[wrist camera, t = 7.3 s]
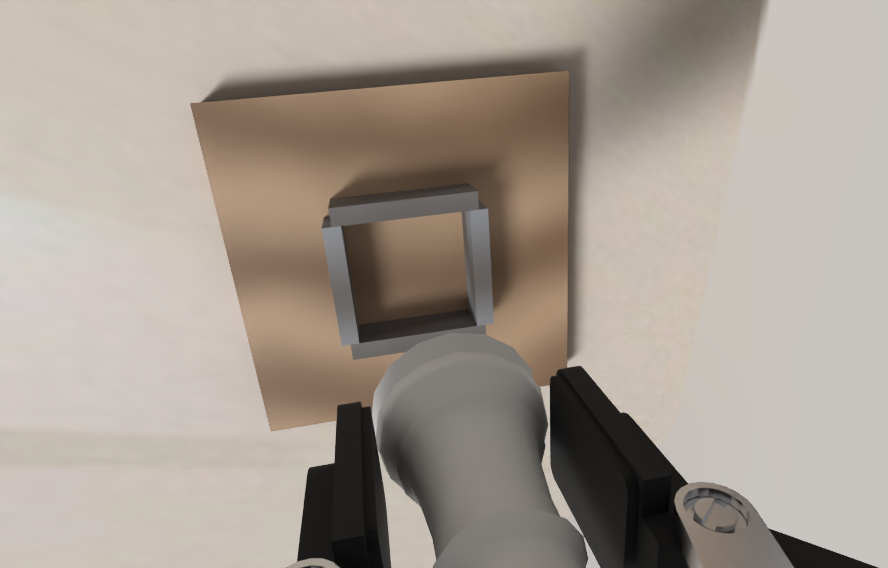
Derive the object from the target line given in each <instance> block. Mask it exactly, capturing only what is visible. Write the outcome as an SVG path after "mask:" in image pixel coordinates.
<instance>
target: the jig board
mask: <svg viewBox="0 0 888 568" xmlns="http://www.w3.org/2000/svg"><path fill="white" fill-rule="evenodd" d="M190 105H191V109H192V113H193V117H194V121H195V125H196V129H197V133H198V137H199V141H200V145H201V149H202V153H203V157H204V161H205V166H206V170H207V174H208V178H209V182H210V186H211V190H212V194H213V198H214V202H215V206H216V210H217V214H218V218H219V222H220V226H221V231H222V235H223V239H224V243H225V247H226V251H227V255H228V259H229V263H230V267H231V271H232V275H233V279H234V283H235V287H236V292H237V296H238V300H239V304H240V308H241V312H242V316H243V320H244V324H245V328H246V332H247V336H248V340H249V344H250V348H251V352H252V357H253V361H254V365H255V369H256V373H257V377H258V381H259V385H260V389H261V393H262V397H263V401H264V405H265V409H266V413H267V417H268V422H269V426H270V430H271V431H277V430H283V429H289V428H295V427H301V426H307V425H312V424H318V423H324V422H330V421H336V420H337V406H338V405H342V404H348V403H354V402H360V401H361V404H362V407H368V406H370V407H371V412H372V408H373V398H374V392H375V390H376V388H377V387H378V385H379V383H380V381H381V380H382V378H383V376H384V374H385V373H386V371H387V369H388V368H389V366H390V364H392V363H393V362H394V361H396V360H397V359H398V358H399V357H401V356H402V355H403V354H405V353H406V352H407V351H408V350H410V349H411V348H412V347H413V346H415V345H416V344H417V343H420V342H423V341H427V340H430V339H433V338H436V337H439V336H442V335H445V334H448V333H469V334H486V335H488V336H490V337H492V338H494V339H496V340H498V341H501V342H503V343H505V344H507V345H509V346H511V347H513V348H514V349H515V350H516V351H517V353H518V354H519V355H520V356H521V357H522V359H523V360H524V361H525V362H526V363H527V365H528V366H529V367H530V368H531V369H532V373H533V378H534V381H535V383H536V384H537V385H538V386H539V387H540V386H546V385H550V378H551V377H552V376H556V373H557V370H558V369H563V368H567V313H568V161H569V71H557V72H546V73H534V74H523V75H511V76H500V77H488V78H477V79H465V80H454V81H442V82H431V83H419V84H408V85H396V86H385V87H373V88H362V89H350V90H339V91H327V92H316V93H304V94H293V95H281V96H270V97H258V98H247V99H235V100H224V101H212V102H201V103H190Z"/></svg>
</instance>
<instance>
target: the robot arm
mask: <svg viewBox="0 0 888 568" xmlns="http://www.w3.org/2000/svg"><path fill="white" fill-rule="evenodd" d="M550 452H551V470H552V473H553V477H554V479H555V481H556V483H557V485H558V487H559V489H560V491H561V492H562V494H563V496H564V498H565V500H566V502H567V504H568V506H569V508H570V510H571V512H572V514H573V515H574V517H575V519H576V521H577V523H578V525H579V527H580V529H581V531H582V533H583V535H584V537H585V538H586V540H587V542H588V544H589V546H590V548H591V550H592V552H593V554H594V556H595V558H596V560H597V561H598V564H599V565H600V567H601V568H878V567H875V566H872V565H869V564H866V563H864V562H861V561H858V560H855V559H853V558H849V557H847V556H844V555H841V554H839V553H836V552H833V551H830V550H827V549H825V548H822V547H819V546H816V545H813V544H811V543H808V542H805V541H802V540H799V539H797V538H794V537H791V536H788V535H785V534H783V533H779V532H777V531H774V530H771V529H769V528H768V527H767V526H766V524H765V523H764V521H763V520H762V518H761V517H760V515H759V514H758V512H757V510H756V509H755V508H754V507H753V505H752V504H751V503H750V502H749V501H748V500H747V499H746V498H744V497H743V496H742V495H740V494H739V493H738V492H736V491H734V490H732V489H729V488H727V487H725V486H722V485H718V484H714V483H706V482H696V483H690V484H688V483H687V482H686V481H685V480H684V478H683V477H682V476H681V475H680V474H679V473H678V471H677V470H676V469H675V468H674V467H673V465H672V464H671V463H670V462H669V461H668V460H667V459H666V457H665V456H664V455H663V454H662V453H661V451H660V450H659V449H658V448H657V447H656V446H655V444H654V443H653V442H652V441H651V440H650V439H649V437H648V436H647V435H646V434H645V433H644V432H643V430H642V429H641V428H640V427H639V426H638V425H637V423H636V422H635V421H634V420H633V419H632V418H631V417H630V416H629V415H628V414H627V413H620V412H619V411H618V410H617V408H616V407H615V406H614V405H613V404H612V402H611V401H610V400H609V399H608V398H607V396H606V395H605V394H604V393H603V392H602V390H601V389H600V388H599V387H598V386H597V384H596V383H595V382H594V381H593V380H592V378H591V377H590V376H589V375H588V374H587V372H586V371H585V370H584V369H583V368H582V367H581V366H576V367H570V368H563V369H558V370H557V373H556V376H552V377H551V378H550ZM286 568H391V560H390V548H389V535H388V523H387V511H386V502H385V494H384V488H383V481H382V475H381V469H380V462H379V456H378V450H377V443H376V437H375V431H374V424H373V418H372V412H371V407H370V406H368V407H362V404H361V401H360V402H354V403H348V404H342V405H338V406H337V424H336V445H335V463H333V464H328V465H322V466H316V467H311V468H309V470H308V474H307V482H306V491H305V499H304V508H303V516H302V525H301V533H300V542H299V550H298V559H297V562H296V563H294V564H292V565H290V566H288V567H286Z"/></svg>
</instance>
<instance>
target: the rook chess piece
mask: <svg viewBox="0 0 888 568" xmlns="http://www.w3.org/2000/svg"><path fill="white" fill-rule="evenodd" d="M372 418H373V424H374V430H375V433H376V443H377V448H378V451H379V453H380V456H381V459H382V461H383V464H384V466H385V469H386V471H387V472H388V474H389V476H390V478H391V479H392V480H393V481H394V482H396V483H397V484H398V485H399V486H400V487H401V488H402V489H403V490H404V491H405V493H406V494H407V495H408V496H409V497H410V498H411V499H412V500H414V501H415V502H416V503H417V504H418V505H419V506H420V507H421V509H422V511H423V513H424V516H425V519H426V522H427V525H428V528H429V530H430V533H431V536H432V539H433V544H434V549H435V555H436V560H437V561H436V562H435V564H434V565H433V568H586V564H587V561H588V556H587V552H586V547H585V542H584V538H583V536H582V535H581V534H580V533H579V531H578V530H577V529H575V527H574V526H573V525H572V524H571V523H570V522H569V521H568V520H567V519H565V518H562V517H560V515H559V513H558V511H557V509H556V507H555V505H554V503H553V501H552V499H551V495H550V492H549V489H548V485H547V482H546V479H545V475H544V472H543V469H542V465H541V463H542V459H543V454H544V450H545V443H544V441H545V436H546V432H547V428H548V422H547V415H546V410H545V406H544V402H543V397H542V393H541V389H540V387H539V386H538V385H537V384H536V383H535V381H534V378H533V373H532V369H531V368H530V367H529V366H528V365H527V363H526V362H525V361H524V360H523V359H522V357H521V356H520V355H519V354H518V353H517V351H516V350H515V349H514V348H513V347H511V346H509V345H507V344H505V343H503V342H501V341H498V340H496V339H494V338H492V337H490V336H488V335H486V334H469V333H448V334H445V335H442V336H439V337H436V338H433V339H430V340H427V341H423V342H420V343H417V344H416V345H415V346H413V347H412V348H411V349H410V350H408V351H407V352H406V353H405V354H403V355H402V356H401V357H399V358H398V359H397V360H396V361H394V362H393V363H392V364H390V366H389V368H388V369H387V371H386V373H385V374H384V376H383V378H382V380H381V381H380V383H379V385H378V387H377V388H376V390H375V392H374V398H373V408H372Z"/></svg>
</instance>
